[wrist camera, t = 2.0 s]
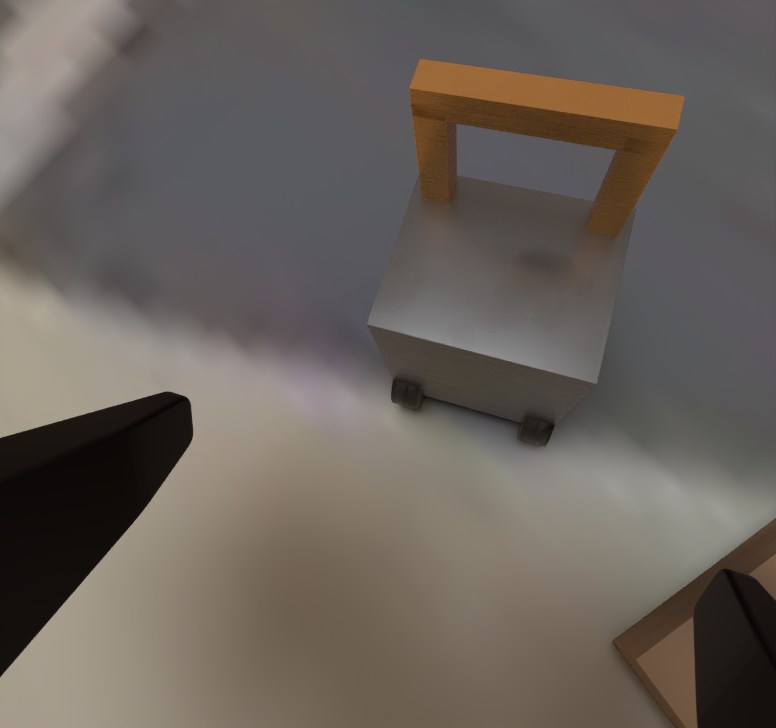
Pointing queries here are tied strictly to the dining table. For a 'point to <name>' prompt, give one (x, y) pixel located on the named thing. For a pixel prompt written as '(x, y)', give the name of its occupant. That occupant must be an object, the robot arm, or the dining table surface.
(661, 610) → the dock
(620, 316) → the dining table surface
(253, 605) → the dining table surface
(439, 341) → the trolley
